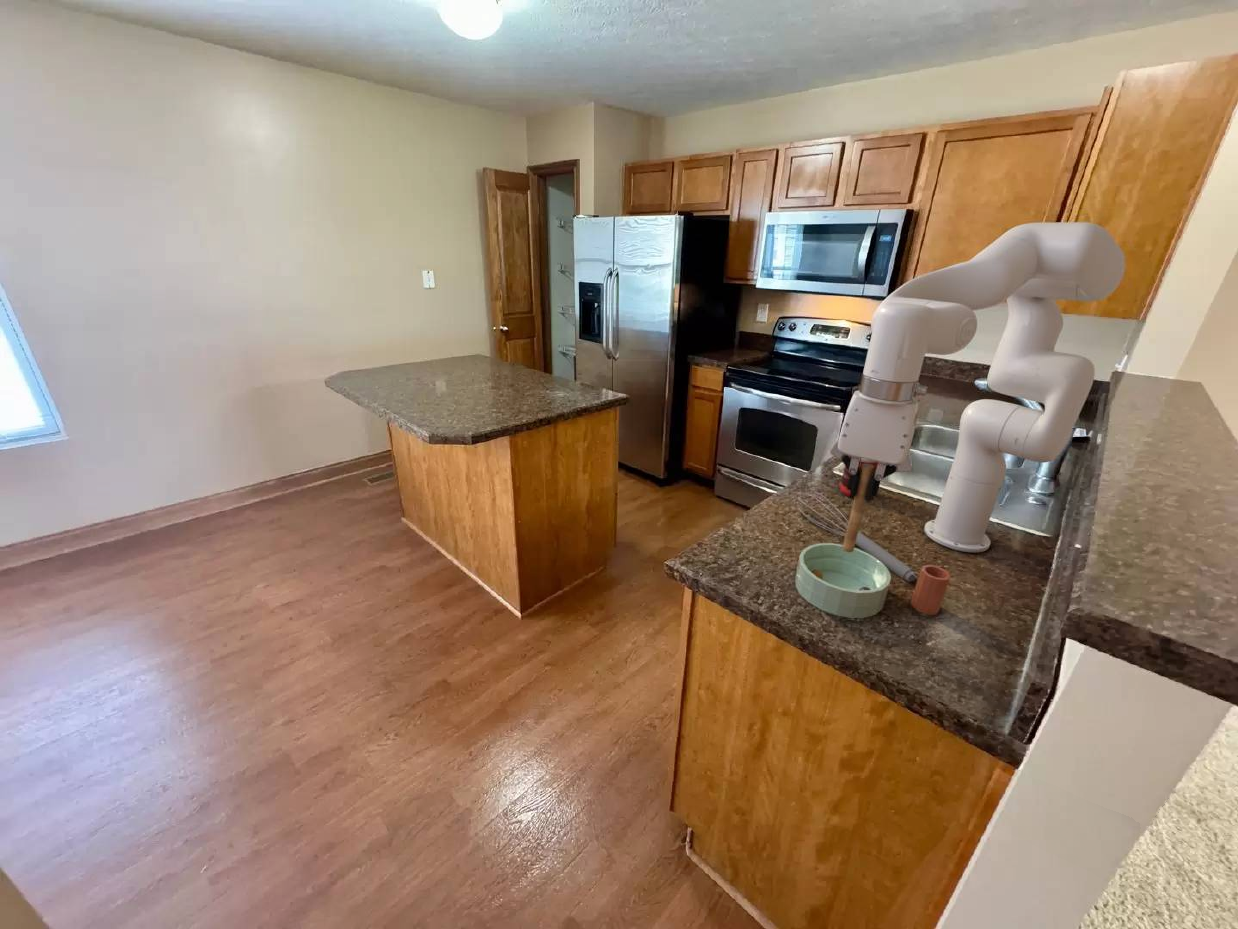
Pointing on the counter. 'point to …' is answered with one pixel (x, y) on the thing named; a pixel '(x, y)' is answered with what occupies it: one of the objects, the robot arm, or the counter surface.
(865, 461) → the canned food
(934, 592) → the utensil pot
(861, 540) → the kitchen whisk
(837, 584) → the mixing bowl
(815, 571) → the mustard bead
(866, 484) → the stirring stick
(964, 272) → the robot arm
